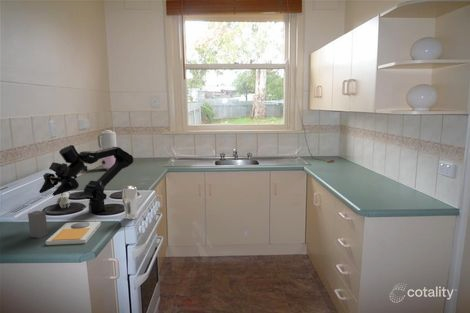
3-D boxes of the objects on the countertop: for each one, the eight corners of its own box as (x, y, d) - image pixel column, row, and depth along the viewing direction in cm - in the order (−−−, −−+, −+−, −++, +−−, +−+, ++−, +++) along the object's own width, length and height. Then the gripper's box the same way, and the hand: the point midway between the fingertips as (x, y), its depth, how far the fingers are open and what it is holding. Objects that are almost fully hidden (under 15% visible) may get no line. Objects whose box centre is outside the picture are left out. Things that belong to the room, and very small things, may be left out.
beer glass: (129, 214, 164) (127, 184, 162) (141, 215, 162) (139, 185, 160) (120, 219, 158) (118, 188, 155) (133, 220, 156) (131, 189, 153)
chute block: (39, 233, 142) (36, 210, 140) (47, 234, 140) (45, 211, 139) (30, 236, 138) (27, 213, 137) (39, 238, 137) (36, 215, 135)
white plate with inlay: (66, 225, 150) (66, 222, 150) (101, 224, 151) (100, 220, 151) (46, 244, 130) (45, 240, 130) (85, 243, 131) (85, 238, 131)
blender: (113, 167, 282) (110, 129, 276) (122, 168, 275) (119, 130, 269) (96, 170, 269) (92, 131, 263) (105, 172, 262) (102, 131, 256)
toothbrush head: (70, 189, 197) (69, 194, 174) (71, 201, 197) (70, 207, 174) (60, 191, 195) (58, 196, 172) (61, 202, 195) (59, 208, 172)
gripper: (50, 155, 155) (22, 178, 145) (76, 158, 147) (49, 182, 136) (63, 173, 162) (37, 196, 151) (89, 177, 153) (64, 201, 143)
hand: (46, 193), depth 145 cm, fingers open, 9 cm apart
